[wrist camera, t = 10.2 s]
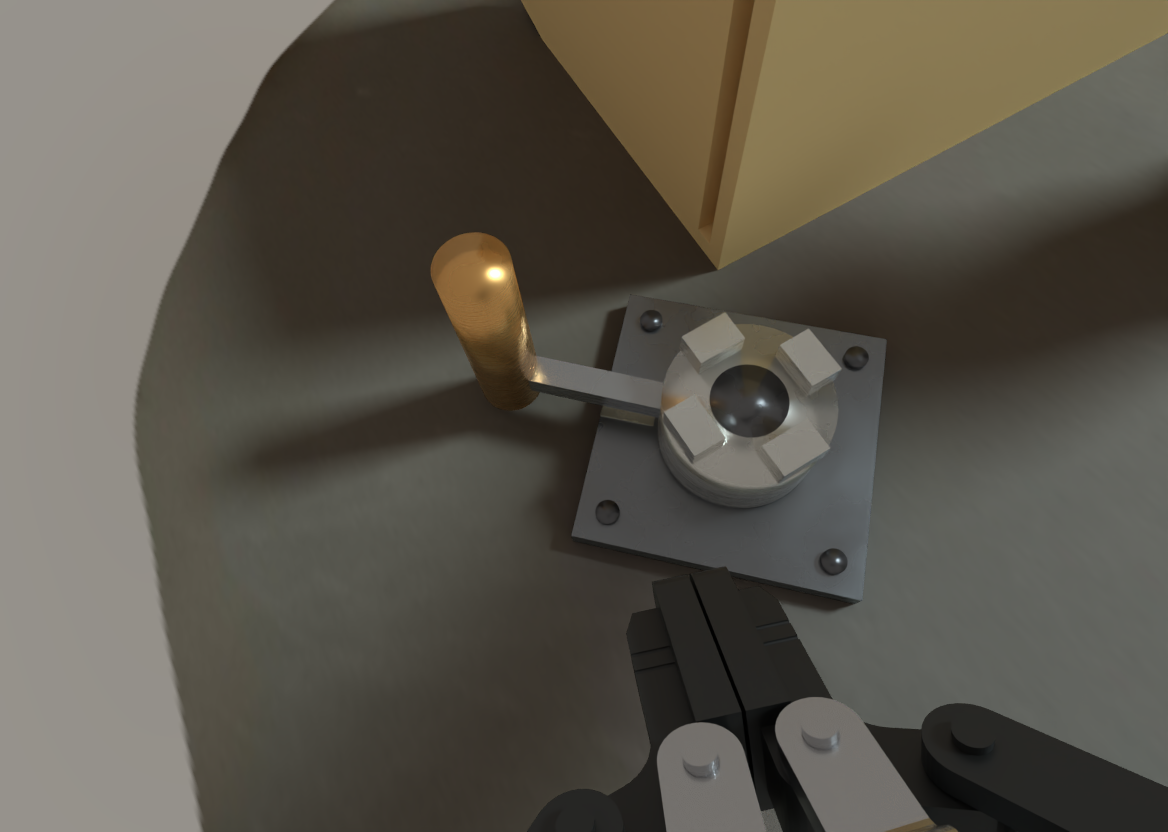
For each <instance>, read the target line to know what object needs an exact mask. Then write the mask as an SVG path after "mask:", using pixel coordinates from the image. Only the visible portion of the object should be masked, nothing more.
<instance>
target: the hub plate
mask: <svg viewBox="0 0 1168 832" xmlns="http://www.w3.org/2000/svg"><path fill="white" fill-rule="evenodd" d="M723 313H726V314H727V315H728V317H729V318H730V319H731V320H732V322H733V323H734V324H755V325H762V326H766V327H770V328H774V329H777V330H780V331H782V332H785V333H787V334H789V335H791V336H793V337H795V336H796V335H798V334H800V333H802V332H803V331H805V330H807V329H808V328H809V329H810V331H811V332H812V333H813V334H814V335H815V337H816V338H817V339H818V340H819V342H820V343H821V344H822V345H823V346H824V348H825V349H826V350H827V351H828V352H829V354H830V355H831V356H832V357H833V359H834V360H835V361H836V362H837V363H838V365H839V366H840V367H841V368H842V369H841V371H840V372H839V374H838V375H837V377H836V379H835V380H834V381H833V383H834V386H835V389H836V393H837V398H838V421H837V425H836V430H835V433H834V435H833V438H832V440H831V442H830V444H829V447H830V449H829V451H828V452H827V453H826V454H825V456H824V457H823V458H821V459H819V460H818V461H817V462H816V463H815V464H814V466H813V467H812V468H811V469H810V471H809V472H808V473H807V475H806V476H805V477H804V478H803V480H802V481H801V482H800V483H799V484H798V485H797V486H796V487H795V488H794V489H793V490H792V491H791V492H789V493H788V494H786V495H785V496H784V497H782V498H780V499H778V500H776V501H774V502H771V503H768V504H766V505H762V506H757V507H750V508H732V507H726V506H721V505H718V504H714V503H711V502H709V501H707V500H704V499H702V498H700V497H699V496H697V495H695V494H694V493H692V492H691V491H689V490H688V489H687V488H686V487H684V486H683V485H682V484H681V483H680V482H679V481H678V480H677V479H676V477H675V476H674V475H673V474H672V472H671V471H670V469H669V468H668V466H667V464H666V462H665V460H664V458H663V455H662V453H661V449H660V446H659V440H658V419H659V418H657V417H652V416H647V415H643V414H638V413H634V412H629V411H624V410H620V409H615V408H611V407H606V406H603V407H602V411H601V416H600V420H599V424H598V428H597V432H596V436H595V441H594V445H593V449H592V453H591V457H590V461H589V465H588V469H587V473H586V477H585V482H584V486H583V490H582V494H581V498H580V502H579V506H578V510H577V514H576V518H575V523H574V527H573V531H572V535H571V536H572V539H573V541H576V542H581V543H585V544H590V545H594V546H598V547H603V548H607V549H612V550H616V551H621V552H625V553H630V554H634V555H639V556H643V557H647V558H652V559H656V560H661V561H665V562H670V563H674V564H679V565H683V566H688V567H692V568H696V569H701V570H710V569H714V568H719V567H723V566H726V567H727V569H728V571H729V573H730V575H731V576H732V577H737V578H741V579H745V580H750V581H754V582H759V583H763V584H768V585H772V586H777V587H781V588H786V589H790V590H795V591H799V592H803V593H808V594H812V595H817V596H821V597H826V598H830V599H835V600H839V601H844V602H848V603H852V604H856V603H858V602H860V601H862V598H863V587H864V576H865V566H866V555H867V545H868V534H869V523H870V513H871V502H872V491H873V481H874V470H875V460H876V449H877V438H878V428H879V417H880V407H881V396H882V385H883V375H884V364H885V354H886V343H887V339H882V338H876V337H871V336H865V335H859V334H854V333H848V332H842V331H836V330H831V329H825V328H819V327H814V326H808V325H802V324H797V323H791V322H785V321H779V320H774V319H768V318H762V317H757V316H751V315H745V314H740V313H734V312H728V311H722V310H717V309H711V308H705V307H700V306H694V305H688V304H683V303H677V302H671V301H666V300H660V299H654V298H648V297H643V296H637V295H631V294H630V297H629V301H628V305H627V309H626V313H625V318H624V322H623V326H622V330H621V334H620V338H619V342H618V346H617V350H616V354H615V359H614V363H613V367H612V371H611V372H616V373H621V374H625V375H630V376H635V377H640V378H645V379H649V380H654V381H659V382H664V379H665V376H666V373H667V371H668V368H669V366H670V364H671V363H672V361H673V360H674V358H675V357H676V355H677V354H678V353H679V352H680V351H681V350H680V344H681V337H682V336H684V335H685V334H687V333H689V332H691V331H693V330H694V329H696V328H698V327H700V326H701V325H703V324H705V323H707V322H709V321H710V320H712V319H714V318H716V317H717V316H719V315H721V314H723Z"/></svg>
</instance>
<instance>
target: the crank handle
mask: <svg viewBox="0 0 1168 832" xmlns="http://www.w3.org/2000/svg"><path fill="white" fill-rule="evenodd" d="M431 278H432V281H433V283H434V285H435V288H436V290H437V292H438V294H439V296H440V299H441V301H442V303H443V305H444V307H445V309H446V312H447V314H448V316H449V318H450V320H451V323H452V325H453V327H454V329H455V331H456V334H457V336H458V338H459V340H460V342H461V345H462V347H463V349H464V351H465V353H466V356H467V358H468V360H469V362H470V364H471V367H472V369H473V371H474V373H475V375H476V378H477V380H478V382H479V384H480V386H481V389H482V391H483V393H484V395H485V397H486V399H487V400H488V401H489V402H490V403H491V404H492V405H493V406H495V407H497V408H499V409H502V410H509V411H512V410H519V409H522V408H524V407H526V406H528V405H529V404H531V403H532V402H533V401H534V400H535V399H536V397H537V396H538V394H539V393H540V392H542V393H546V394H551V395H555V396H560V397H565V398H569V399H574V400H578V401H583V402H588V403H592V404H597V405H601V406H606V407H611V408H615V409H620V410H624V411H629V412H634V413H638V414H643V415H647V416H652V417H657V418H659V419H658V440H659V446H660V449H661V453H662V455H663V458H664V460H665V462H666V464H667V466H668V468H669V469H670V471H671V472H672V474H673V475H674V476H675V477H676V479H677V480H678V481H679V482H680V483H681V484H682V485H683V486H684V487H686V488H687V489H688V490H689V491H691V492H692V493H694V494H695V495H697V496H699V497H700V498H702V499H704V500H707V501H709V502H711V503H714V504H718V505H721V506H726V507H732V508H750V507H757V506H762V505H766V504H768V503H771V502H774V501H776V500H778V499H780V498H782V497H784V496H785V495H786V494H788V493H789V492H791V491H792V490H793V489H794V488H795V487H796V486H797V485H798V484H799V483H800V482H801V481H802V480H803V478H804V477H805V476H806V475H807V473H808V472H809V471H810V469H811V468H812V467H813V466H814V464H815V463H816V462H817V461H818V460H819V459H821V458H823V457H824V456H825V454H826V453H827V452H828V451H829V449H830V447H829V444H830V442H831V440H832V438H833V435H834V433H835V430H836V425H837V421H838V398H837V393H836V389H835V386H834V383H833V381H834V380H835V379H836V377H837V375H838V374H839V372H840V371H841V369H842V368H841V367H840V366H839V365H838V363H837V362H836V361H835V360H834V359H833V357H832V356H831V355H830V354H829V352H828V351H827V350H826V349H825V348H824V346H823V345H822V344H821V343H820V342H819V340H818V339H817V338H816V337H815V335H814V334H813V333H812V332H811V331H810V329H809V328H808V329H807V330H805V331H803V332H802V333H800V334H798V335H796V336H795V337H793V336H791V335H789V334H787V333H785V332H782V331H780V330H777V329H774V328H770V327H766V326H762V325H755V324H734V323H733V322H732V320H731V319H730V318H729V317H728V315H727V314H726V313H723V314H721V315H719V316H717V317H716V318H714V319H712V320H710V321H709V322H707V323H705V324H703V325H701V326H700V327H698V328H696V329H694V330H693V331H691V332H689V333H687V334H685V335H684V336H682V337H681V344H680V350H681V351H680V352H679V353H678V354H677V355H676V357H675V358H674V360H673V361H672V363H671V364H670V366H669V368H668V371H667V373H666V376H665V379H664V382H659V381H654V380H649V379H645V378H640V377H635V376H630V375H625V374H621V373H616V372H611V371H606V370H602V369H597V368H592V367H587V366H583V365H578V364H573V363H568V362H564V361H559V360H554V359H549V358H545V357H540V356H536V353H535V349H534V345H533V341H532V337H531V334H530V330H529V326H528V322H527V318H526V314H525V310H524V306H523V302H522V298H521V294H520V290H519V286H518V283H517V279H516V275H515V271H514V267H513V263H512V259H511V255H510V253H509V251H508V249H507V247H506V246H505V245H504V244H503V243H502V242H501V241H500V240H499V239H497V238H495V237H494V236H491V235H489V234H485V233H477V232H472V233H465V234H461V235H458V236H456V237H453V238H452V239H450V240H448V241H447V242H446V243H444V244H443V245H442V246H441V247H440V248H439V249H438V251H437V252H436V254H435V255H434V258H433V260H432V263H431Z"/></svg>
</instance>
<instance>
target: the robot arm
mask: <svg viewBox="0 0 1168 832" xmlns="http://www.w3.org/2000/svg"><path fill="white" fill-rule="evenodd" d="M652 587H653V593H654V599H655V604H656V608H655V609H650V610H646V611H641V612H637V613H633V614H632V617H631V620H630V623H629V626H628V630H627V633H626V635H627V639H628V644H629V649H630V654H631V658H632V663H633V668H634V673H635V678H636V682H637V687H638V692H639V696H640V701H641V705H642V709H643V714H644V718H645V722H646V727H647V731H648V736H649V740H650V744H651V749H650V754H649V758H648V760H647V762H646V764H645V766H644V768H643V769H642V771H641V772H640V773H639V774H638V776H637V777H636V778H634V779H633V780H632V781H631V782H630V783H628V784H627V785H625V786H624V787H622V788H620V789H619V790H617V791H615V792H614V793H612V794H610V795H608V796H606V795H604V794H603V793H601V792H598V791H595V790H590V789H577V790H571V791H568V792H565V793H563V794H561V795H559V796H557V797H556V798H554V799H553V800H551V801H550V802H549V803H548V804H547V805H546V806H545V807H544V808H543V809H542V810H541V812H540V813H539V814H538V816H537V817H536V819H535V820H534V822H533V823H532V825H531V826H530V828H529V829H528V831H527V832H766V828H765V825H764V821H763V817H762V814H761V811H764V810H768V809H773V808H774V810H775V812H776V815H777V817H778V820H779V823H780V825H781V828H782V830H783V832H1168V787H1166V786H1163V785H1161V784H1159V783H1157V782H1154V781H1152V780H1150V779H1147V778H1145V777H1143V776H1140V775H1138V774H1136V773H1134V772H1131V771H1129V770H1127V769H1124V768H1122V767H1120V766H1118V765H1115V764H1113V763H1111V762H1108V761H1106V760H1104V759H1101V758H1099V757H1097V756H1095V755H1092V754H1090V753H1088V752H1085V751H1083V750H1081V749H1078V748H1076V747H1074V746H1072V745H1069V744H1067V743H1065V742H1062V741H1060V740H1058V739H1056V738H1053V737H1051V736H1049V735H1046V734H1044V733H1042V732H1039V731H1037V730H1035V729H1033V728H1030V727H1028V726H1026V725H1023V724H1021V723H1019V722H1016V721H1014V720H1012V719H1010V718H1007V717H1005V716H1003V715H1000V714H998V713H996V712H994V711H991V710H989V709H986V708H983V707H980V706H976V705H972V704H963V703H955V704H947V705H944V706H940V707H938V708H936V709H934V710H933V711H932V712H930V713H929V714H928V715H927V716H926V718H925V719H924V721H923V724H922V729H921V730H919V729H903V728H888V727H879V726H875V725H870V724H868V723H865V722H863V721H862V720H861V718H860V717H859V716H858V715H857V714H856V713H855V712H854V711H853V710H852V709H851V708H849V707H848V706H846V705H845V704H842V703H840V702H838V701H835V700H833V699H832V697H831V696H830V694H829V692H828V690H827V688H826V687H825V685H824V683H823V681H822V679H821V677H820V676H819V674H818V672H817V670H816V668H815V667H814V665H813V663H812V661H811V659H810V658H809V656H808V654H807V652H806V650H805V648H804V647H803V645H802V643H801V641H800V639H798V637H797V634H796V632H795V630H794V629H793V627H792V625H791V623H789V620H788V618H787V616H786V614H785V612H784V610H783V609H782V607H781V605H780V603H779V601H778V600H777V599H775V598H774V597H773V596H771V595H770V594H769V593H767V592H766V591H765V590H763V589H762V588H761V587H759V586H755V587H751V588H746V589H742V590H738V589H737V587H736V585H735V583H734V581H733V579H732V577H731V575H730V573H729V571H728V569H727V567H726V566H723V567H719V568H714V569H710V570H705V571H701V572H696V573H692V574H690V579H689V576H688V575H687V574H686V575H682V576H677V577H673V578H668V579H663V580H659V581H654V582H652Z"/></svg>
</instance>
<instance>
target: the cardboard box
mask: <svg viewBox="0 0 1168 832" xmlns="http://www.w3.org/2000/svg"><path fill="white" fill-rule="evenodd" d="M521 2H522V3H523V5H524V7H525V9H526V11H527V12H528V14H529V16H530V18H531V20H532V22H533V23H534V25H535V27H536V29H537V31H538V33H539V34H540V36H541V38H542V40H543V41H544V43H545V44H546V45H547V47H548V48H549V49H550V50H551V52H552V53H553V54H554V56H555V57H556V58H557V60H558V61H559V62H560V64H561V65H562V66H563V68H564V69H565V70H566V71H567V73H568V74H569V75H570V77H571V78H572V79H573V81H574V82H575V83H576V85H577V86H578V87H579V89H580V90H581V91H582V92H583V94H584V95H585V96H586V98H587V99H588V100H589V102H590V103H591V104H592V106H593V107H594V108H595V110H596V111H597V112H598V113H599V115H600V116H601V117H602V119H603V120H604V121H605V123H606V124H607V125H608V127H609V128H610V129H611V131H612V132H613V133H614V134H615V136H616V137H617V138H618V140H619V141H620V142H621V144H622V145H623V146H624V148H625V149H626V150H627V152H628V153H629V154H630V155H631V157H632V158H633V159H634V161H635V162H636V163H637V165H638V166H639V167H640V169H641V170H642V171H643V173H644V174H645V175H646V177H647V178H648V179H649V180H650V182H651V183H652V184H653V186H654V187H655V188H656V190H657V191H658V192H659V194H660V195H661V196H662V198H663V199H664V200H665V201H666V203H667V204H668V205H669V207H670V208H671V209H672V211H673V212H674V213H675V215H676V216H677V217H678V219H679V220H680V221H681V222H682V224H683V225H684V226H685V228H686V229H687V230H688V232H689V233H690V234H691V236H692V237H693V238H694V240H695V241H696V242H697V243H698V245H699V246H700V247H701V249H702V250H703V251H704V253H705V254H706V255H707V257H708V258H709V259H710V261H711V262H712V263H713V264H714V266H715V267H716V268H717V270H719V269H721V268H723V267H725V266H727V265H729V264H730V263H732V262H734V261H736V260H738V259H740V258H742V257H744V256H746V255H748V254H749V253H751V252H753V251H755V250H757V249H759V248H761V247H763V246H765V245H767V244H768V243H770V242H772V241H774V240H776V239H778V238H780V237H782V236H784V235H786V234H787V233H789V232H791V231H793V230H795V229H797V228H799V227H801V226H803V225H804V224H806V223H808V222H810V221H812V220H814V219H816V218H818V217H820V216H822V215H823V214H825V213H827V212H829V211H831V210H833V209H835V208H837V207H839V206H841V205H842V204H844V203H846V202H848V201H850V200H852V199H854V198H856V197H858V196H859V195H861V194H863V193H865V192H867V191H869V190H871V189H873V188H875V187H877V186H878V185H880V184H882V183H884V182H886V181H888V180H890V179H892V178H894V177H896V176H897V175H899V174H901V173H903V172H905V171H907V170H909V169H911V168H913V167H915V166H916V165H918V164H920V163H922V162H924V161H926V160H928V159H930V158H932V157H933V156H935V155H937V154H939V153H941V152H943V151H945V150H947V149H949V148H951V147H952V146H954V145H956V144H958V143H960V142H962V141H964V140H966V139H968V138H970V137H971V136H973V135H975V134H977V133H979V132H981V131H983V130H985V129H987V128H988V127H990V126H992V125H994V124H996V123H998V122H1000V121H1002V120H1004V119H1006V118H1007V117H1009V116H1011V115H1013V114H1015V113H1017V112H1019V111H1021V110H1023V109H1025V108H1026V107H1028V106H1030V105H1032V104H1034V103H1036V102H1038V101H1040V100H1042V99H1044V98H1045V97H1047V96H1049V95H1051V94H1053V93H1055V92H1057V91H1059V90H1061V89H1062V88H1064V87H1066V86H1068V85H1070V84H1072V83H1074V82H1076V81H1078V80H1080V79H1081V78H1083V77H1085V76H1087V75H1089V74H1091V73H1093V72H1095V71H1097V70H1099V69H1100V68H1102V67H1104V66H1106V65H1108V64H1110V63H1112V62H1114V61H1116V60H1117V59H1119V58H1121V57H1123V56H1125V55H1127V54H1129V53H1131V52H1133V51H1135V50H1136V49H1138V48H1140V47H1142V46H1144V45H1146V44H1148V43H1150V42H1152V41H1154V40H1155V39H1157V38H1159V37H1161V36H1163V35H1165V34H1167V33H1168V0H521Z"/></svg>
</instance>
